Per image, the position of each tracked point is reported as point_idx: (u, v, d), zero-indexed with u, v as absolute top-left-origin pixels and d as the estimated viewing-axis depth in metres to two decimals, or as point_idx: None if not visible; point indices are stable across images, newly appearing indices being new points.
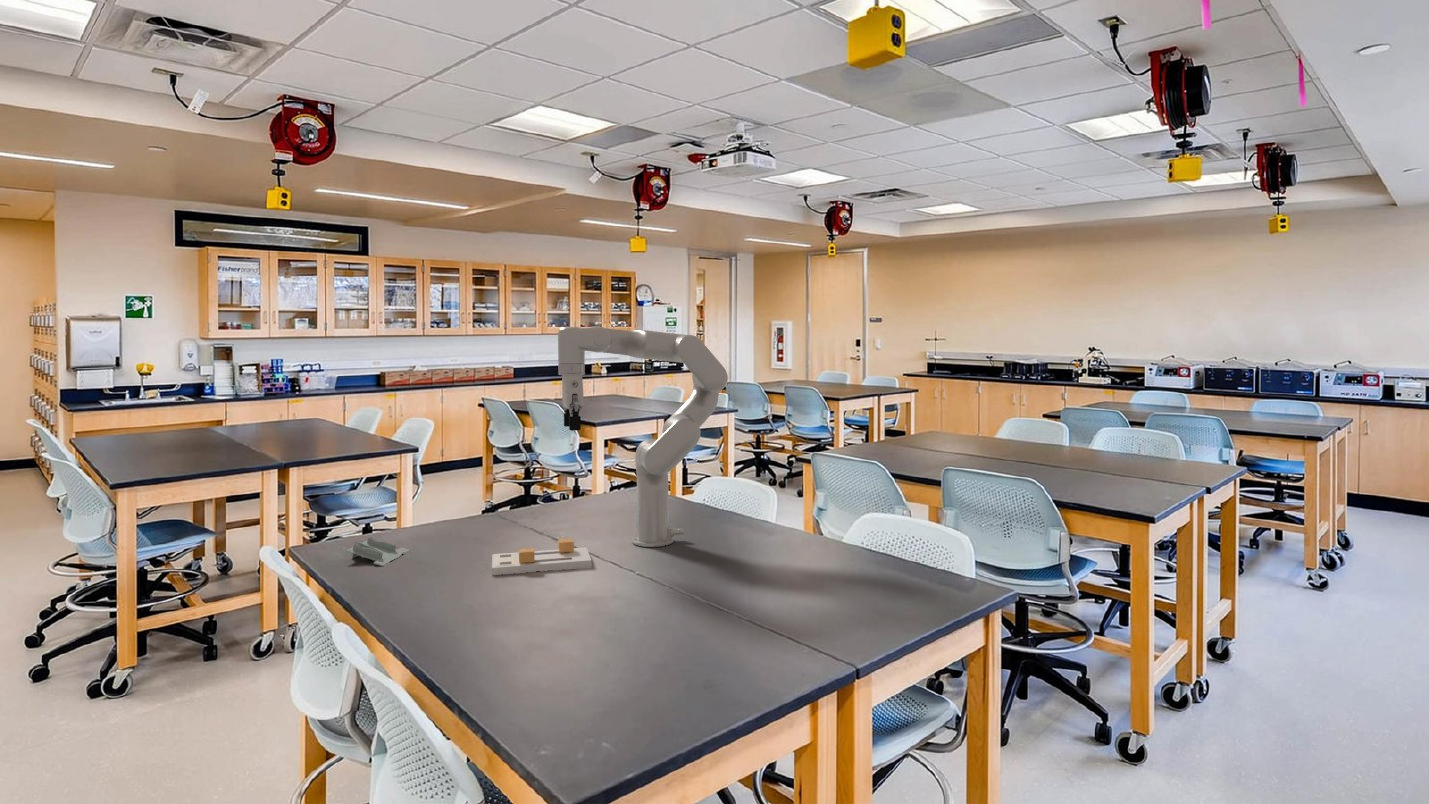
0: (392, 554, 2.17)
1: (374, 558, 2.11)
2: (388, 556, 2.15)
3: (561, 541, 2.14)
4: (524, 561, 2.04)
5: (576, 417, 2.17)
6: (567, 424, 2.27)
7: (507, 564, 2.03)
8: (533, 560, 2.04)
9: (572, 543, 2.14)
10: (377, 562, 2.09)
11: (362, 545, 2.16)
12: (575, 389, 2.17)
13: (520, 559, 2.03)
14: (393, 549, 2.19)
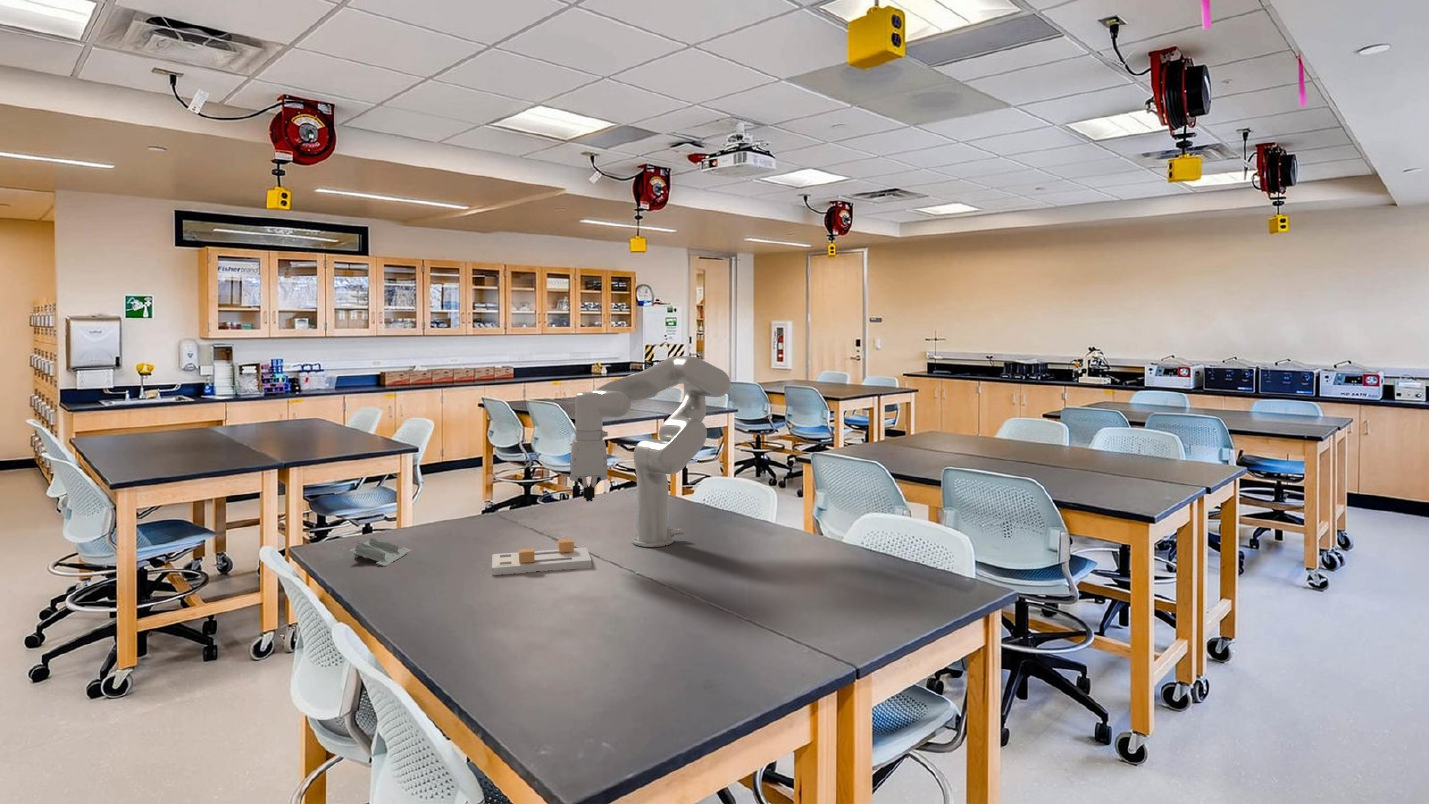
0: (394, 554, 2.17)
1: (377, 559, 2.11)
2: (390, 556, 2.15)
3: (561, 541, 2.14)
4: (524, 561, 2.04)
5: None
6: (588, 498, 2.15)
7: (507, 564, 2.03)
8: (533, 560, 2.04)
9: (572, 543, 2.14)
10: (380, 562, 2.09)
11: (364, 545, 2.16)
12: None
13: (520, 559, 2.03)
14: (395, 549, 2.19)
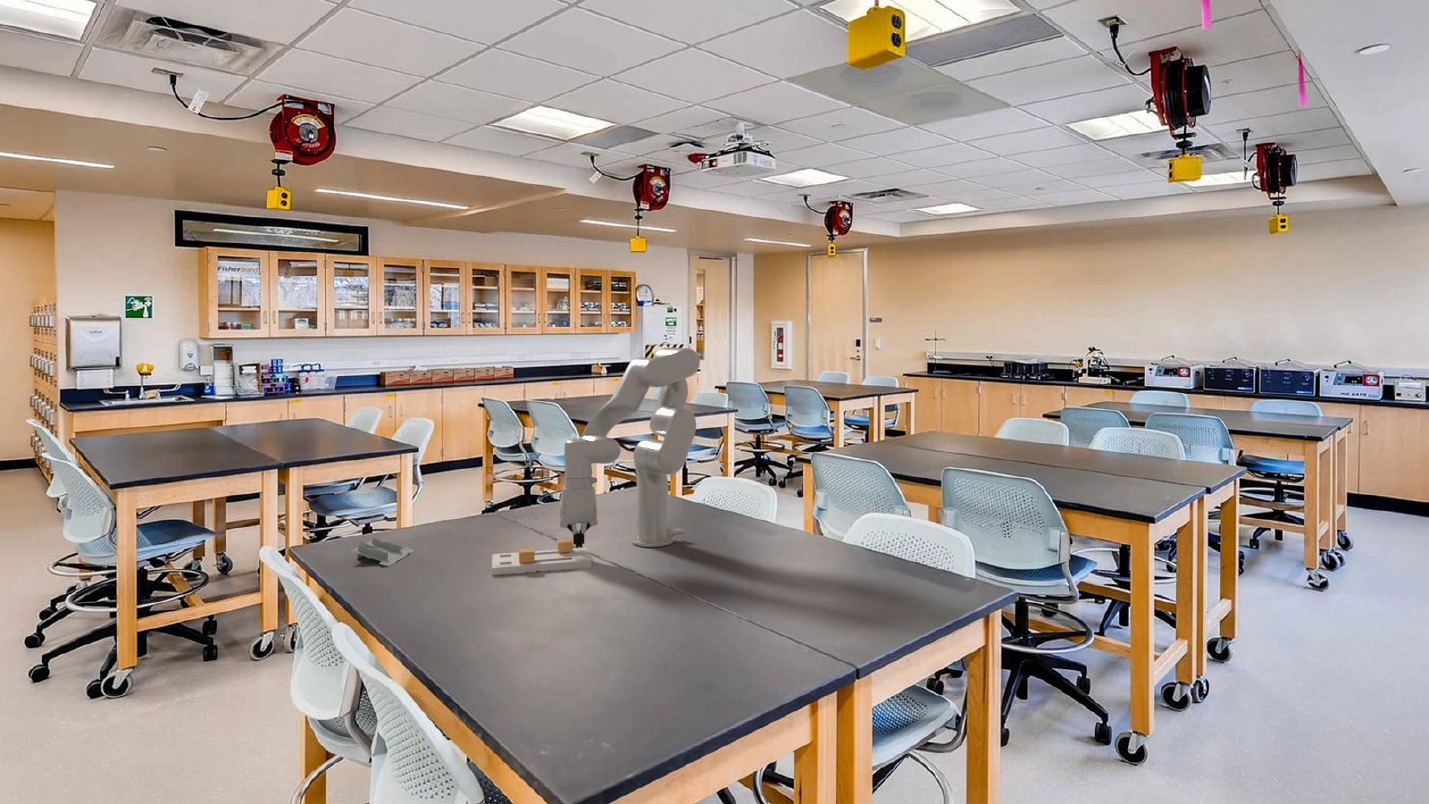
0: (397, 554, 2.16)
1: (380, 559, 2.11)
2: (393, 556, 2.14)
3: (560, 541, 2.14)
4: (524, 561, 2.04)
5: None
6: None
7: (507, 564, 2.03)
8: (533, 560, 2.04)
9: (571, 543, 2.14)
10: (383, 563, 2.09)
11: (367, 546, 2.16)
12: None
13: (520, 559, 2.03)
14: (398, 549, 2.19)
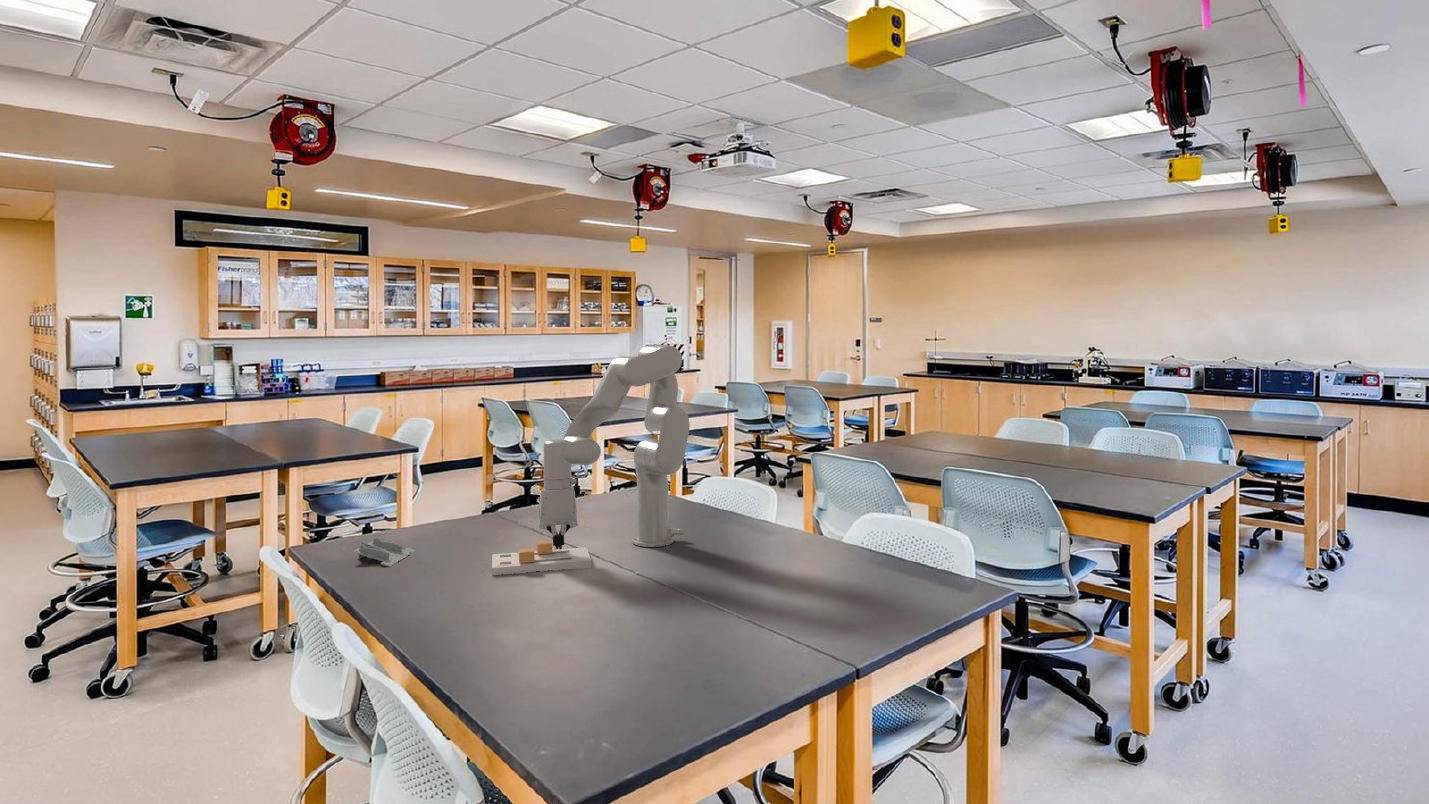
0: (398, 555, 2.16)
1: (381, 559, 2.11)
2: (395, 557, 2.14)
3: (539, 543, 2.13)
4: (524, 561, 2.04)
5: None
6: None
7: (507, 564, 2.03)
8: (533, 560, 2.04)
9: (551, 545, 2.12)
10: (384, 563, 2.09)
11: (368, 546, 2.16)
12: None
13: (520, 559, 2.03)
14: (399, 549, 2.19)
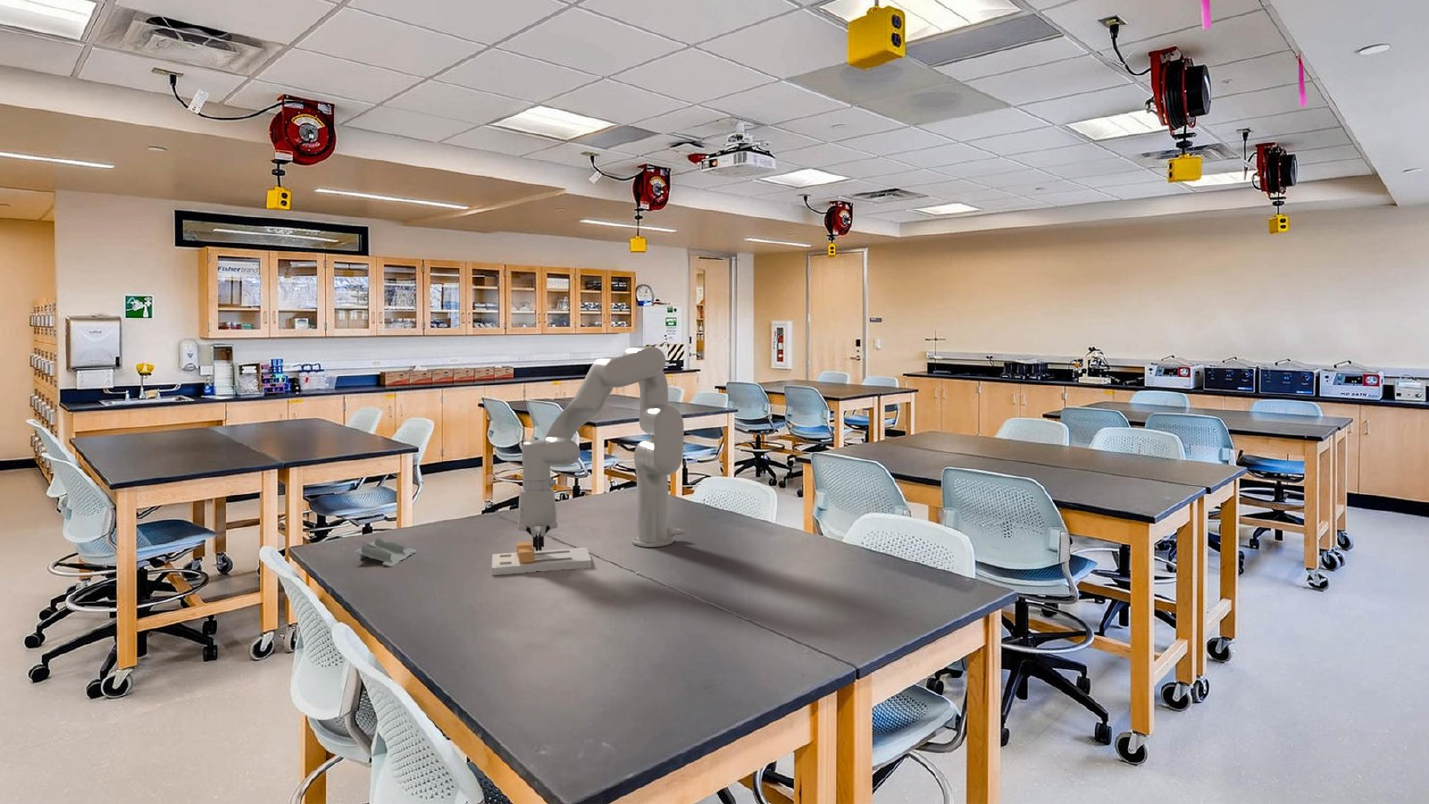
0: (400, 555, 2.16)
1: (383, 559, 2.11)
2: (396, 557, 2.14)
3: (519, 544, 2.11)
4: (524, 561, 2.04)
5: None
6: None
7: (507, 564, 2.03)
8: (533, 560, 2.04)
9: (530, 546, 2.11)
10: (386, 563, 2.09)
11: (370, 546, 2.16)
12: (555, 502, 2.13)
13: (520, 559, 2.03)
14: (401, 550, 2.19)
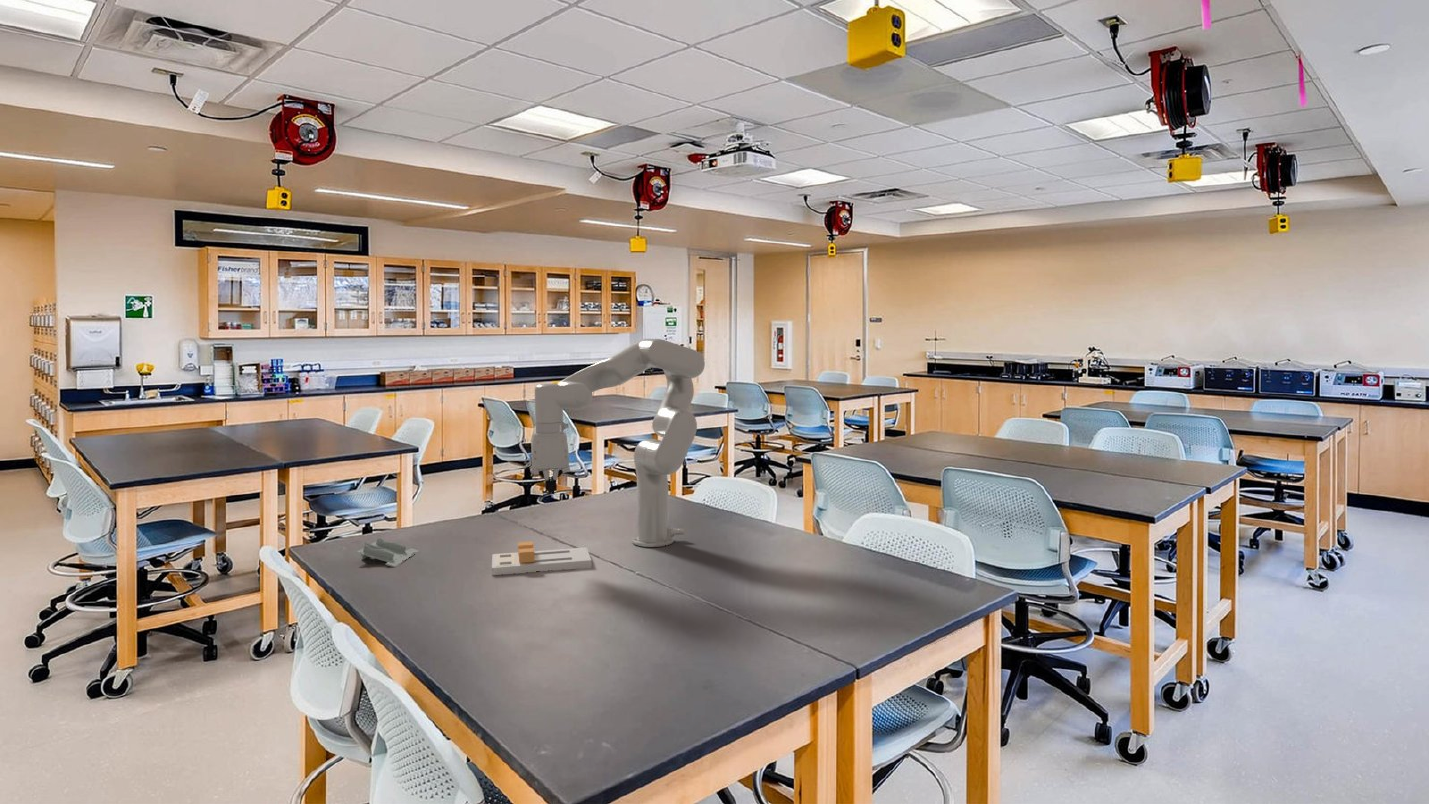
0: (402, 555, 2.16)
1: (386, 559, 2.10)
2: (399, 557, 2.14)
3: (520, 544, 2.11)
4: (524, 561, 2.04)
5: None
6: (550, 491, 2.12)
7: (507, 564, 2.03)
8: (533, 560, 2.04)
9: (532, 546, 2.11)
10: (389, 563, 2.08)
11: (372, 546, 2.15)
12: None
13: (520, 559, 2.03)
14: (403, 550, 2.18)
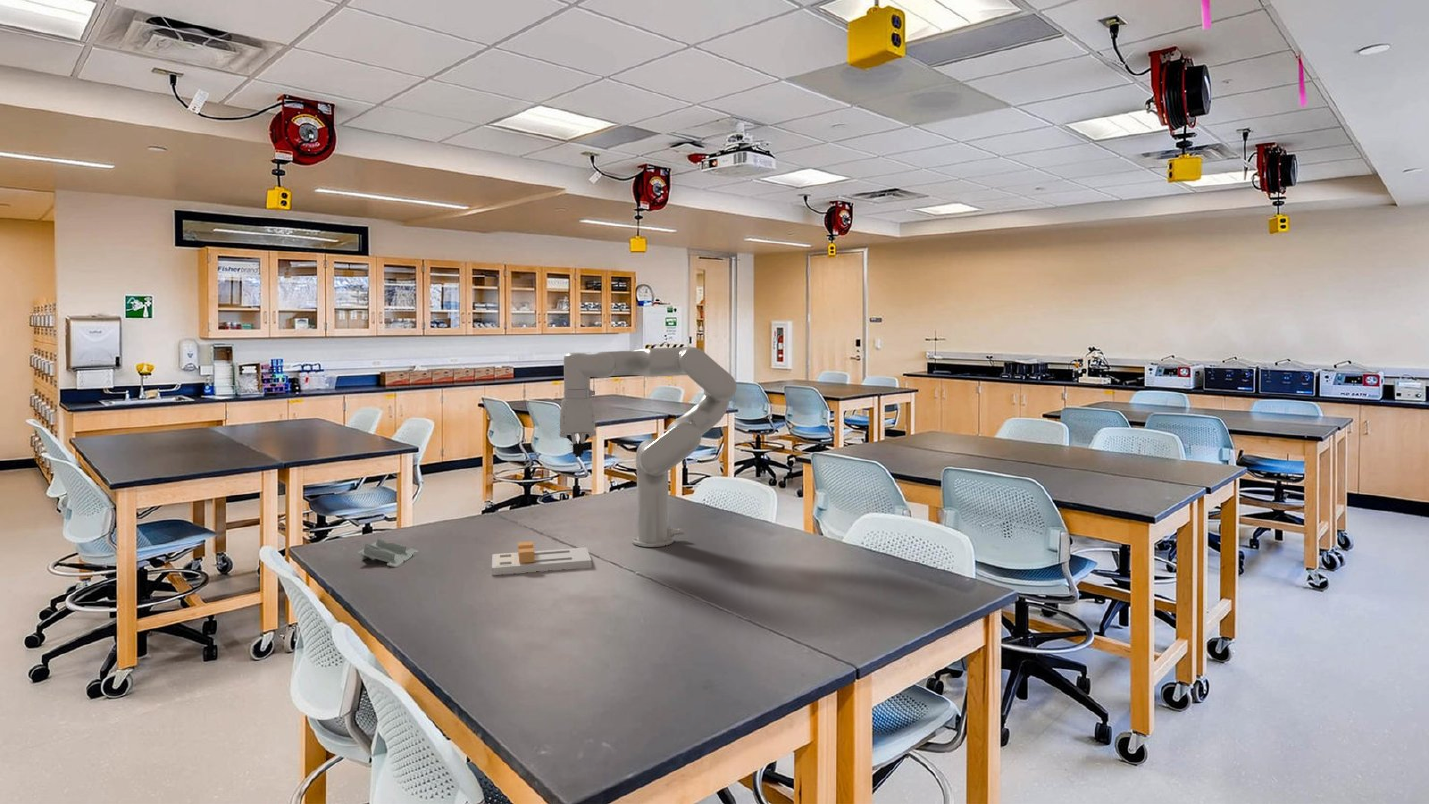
0: (403, 555, 2.16)
1: (387, 560, 2.10)
2: (400, 557, 2.14)
3: (520, 544, 2.11)
4: (524, 561, 2.04)
5: None
6: (578, 454, 2.26)
7: (507, 564, 2.03)
8: (533, 560, 2.04)
9: (532, 546, 2.11)
10: (390, 563, 2.08)
11: (372, 547, 2.15)
12: (594, 412, 2.27)
13: (520, 559, 2.03)
14: (403, 550, 2.18)
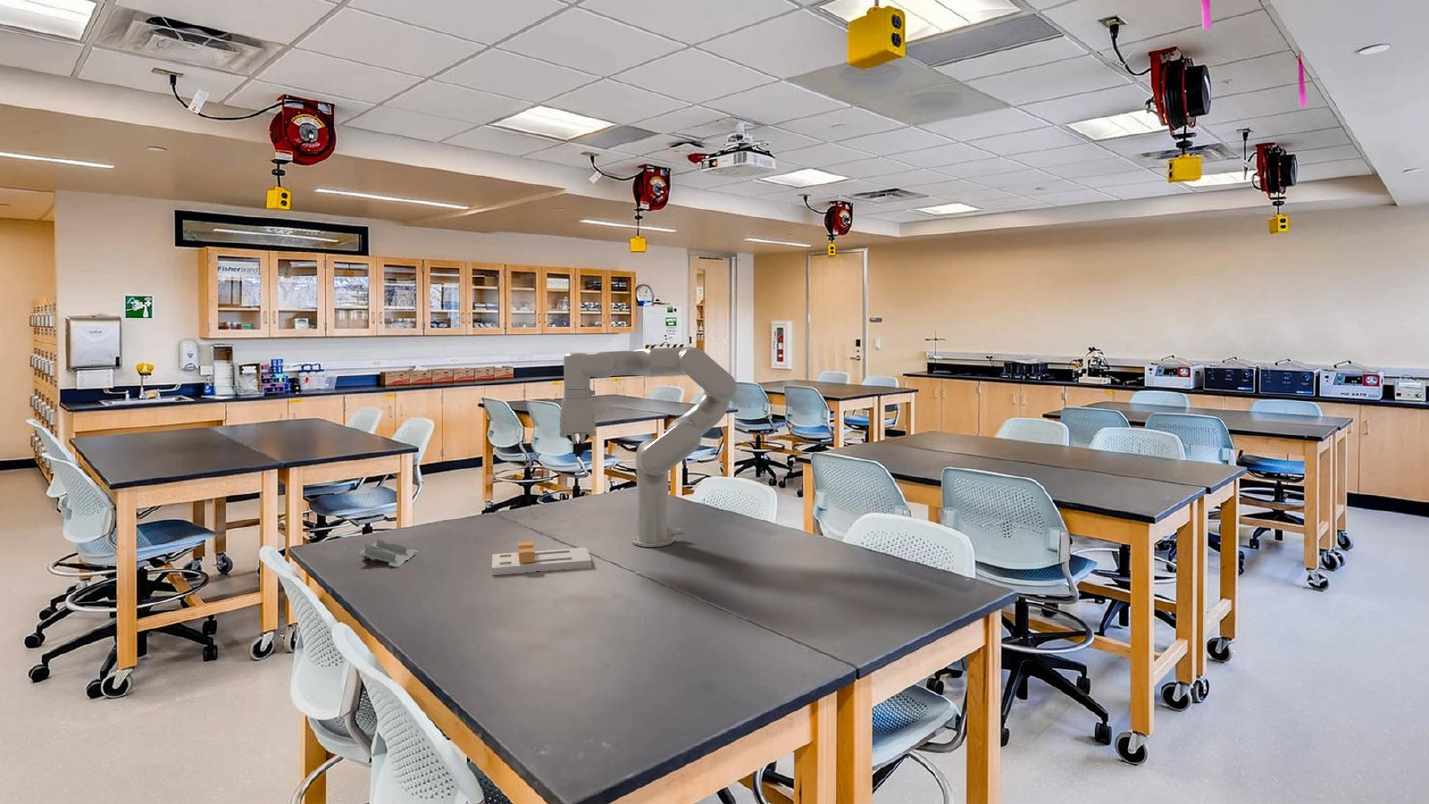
0: (404, 555, 2.15)
1: (388, 560, 2.10)
2: (400, 558, 2.13)
3: (520, 544, 2.11)
4: (524, 561, 2.04)
5: None
6: (578, 454, 2.26)
7: (507, 564, 2.03)
8: (533, 560, 2.04)
9: (532, 546, 2.11)
10: (392, 564, 2.08)
11: (372, 547, 2.14)
12: None
13: (520, 559, 2.03)
14: (404, 550, 2.18)
